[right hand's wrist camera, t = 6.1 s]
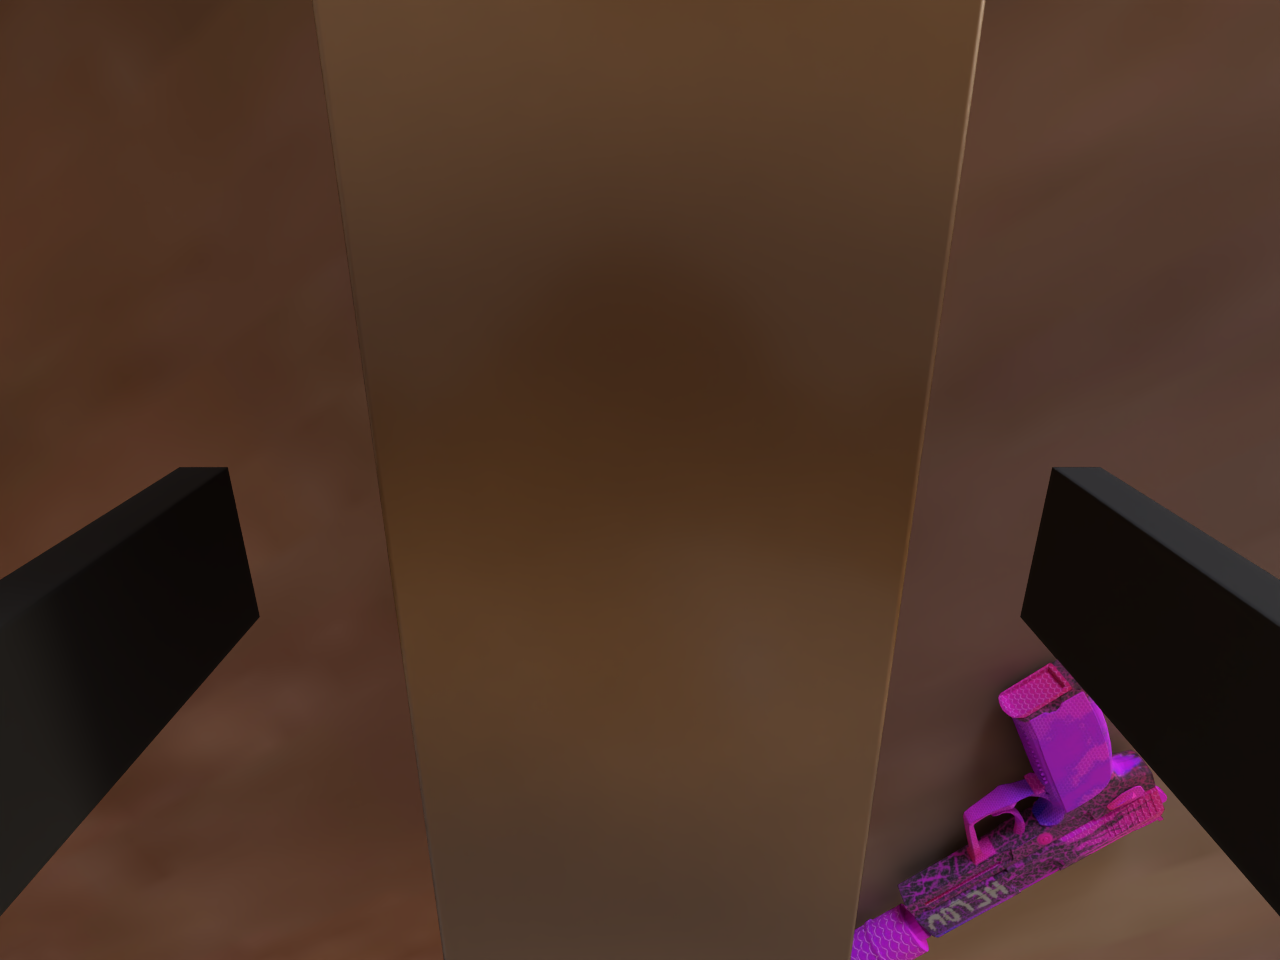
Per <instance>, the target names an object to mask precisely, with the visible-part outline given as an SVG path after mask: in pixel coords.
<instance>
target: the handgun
mask: <svg viewBox="0 0 1280 960" xmlns="http://www.w3.org/2000/svg"><path fill="white" fill-rule="evenodd" d="M998 699H999V703H1000V706H1001V708H1002V710H1003V711H1004V712H1005V713H1006V714H1008V715H1009V716H1010V717H1012V719H1013V721H1014V724H1015V726H1016V729H1017V731H1018V734H1019V736H1020V739H1021V741H1022V744H1023V746H1024V749H1025V751H1026V754H1027V756H1028V759H1029V762H1030V764H1031V766H1032V769H1033V771H1034V773H1028V774H1026V775H1025V776H1024V778H1025V779H1023V780H1020V781H1017V782H1014V783H1009V784H1002V785H999V786H997V787H996V788H995V789H994V790H993V791H991V792H990V793H989V794H987V795H986V796H985V797H983V798H982V799H980V800H979V801H978V802H976V803H975V804H974V805H972V806H971V807H970V808H969V809H967V810H966V811H965V812H964V814H963V819H964V825H965V830H966V835H967V840H968V845H966V846H965V847H963V848H961V849H959V850H958V851H956V852H954V853H952V854H951V855H949V856H947V857H945V858H944V859H942V860H940V861H938V862H937V863H935V864H933V865H931V866H930V867H928V868H926V869H925V870H923V871H921V872H919V873H918V874H916V875H914V876H912V877H911V878H909V879H907V880H905V881H904V882H902V883H900V884H898V888H899V891H900V893H901V896H902V899H903V901H904V904H905V905H903V904H902V903H901V904H900V905H898V906H896V907H894V908H893V909H891V910H889V911H887V912H886V913H884V914H882V915H880V916H878V917H877V918H875V919H873V920H872V919H870V920H868V921H866V922H865V924H864V925H863V926H861V927H859V928H857V929H855V931H854V939H853V946H852V953H851V960H913V959H915V958H917V957H918V956H920V955H922V954H924V953H926V952H927V951H929V948H928V943H927V940H926V939H927V938H929V937H930V936H931V935H932V936H934V937H940V936H942V935H943V934H945V933H947V932H949V931H951V930H953V929H954V928H956V927H958V926H960V925H962V924H964V923H965V922H967V921H969V920H971V919H973V918H975V917H976V916H978V915H980V914H982V913H984V912H986V911H987V910H989V909H991V908H993V907H995V906H997V905H998V904H1000V903H1002V902H1004V901H1006V900H1008V899H1009V898H1011V897H1013V896H1015V895H1017V894H1019V893H1020V892H1021V891H1022V890H1023V889H1025V888H1027V887H1029V886H1031V885H1032V884H1034V883H1036V882H1038V881H1040V880H1042V879H1043V878H1045V877H1047V876H1049V875H1051V874H1053V873H1054V872H1056V871H1058V870H1060V871H1061V870H1062V869H1064V868H1066V867H1068V866H1070V865H1072V864H1073V863H1075V862H1077V861H1079V860H1081V859H1083V858H1084V857H1086V856H1088V855H1090V854H1092V853H1094V852H1095V851H1097V850H1099V849H1101V848H1103V847H1105V846H1106V845H1108V844H1110V843H1112V842H1114V841H1116V840H1117V839H1119V838H1121V837H1123V836H1125V835H1127V834H1128V833H1130V832H1132V831H1135V830H1137V829H1139V828H1142V827H1144V826H1146V825H1148V824H1150V823H1152V822H1154V821H1156V820H1157V819H1158V820H1159V821H1161V820H1163V818H1162V816H1161V815H1162V813H1163V811H1164V806H1163V804H1162V803H1163V802H1165V801H1166V800H1167V796H1166V794H1165V793H1164V792H1163V791H1162V790H1161V789H1160V788H1159V787H1158V786H1155V782H1154V778H1153V775H1152V772H1151V771H1150V769H1149V768H1148V767H1147V765H1146V764H1145V762H1144V761H1143V760H1142V758H1141V757H1140V756H1139V755H1138V754H1137V753H1136V752H1134V751H1132V750H1128V751H1124V752H1120V753H1114V754H1112V750H1111V742H1110V737H1109V733H1108V729H1107V725H1106V722H1105V719H1104V716H1103V713H1102V710H1101V709H1100V708H1099V707H1098V706H1097V705H1096V704H1095V702H1094V701H1093V700H1092V699H1091V698H1090V697H1089V695H1088V694H1087V693H1086V692H1085V691H1084V690H1083V689H1082V687H1081V686H1080V685H1079V684H1078V683H1077V682H1076V680H1075V679H1074V678H1073V677H1072V676H1071V675H1070V674H1069V672H1068V671H1067V670H1066V669H1065V668H1064V667H1063V665H1062V664H1061V663H1060V662H1059V661H1058V660H1056V661H1054V662H1053V663H1049V664H1047V665H1046V666H1044V667H1043V668H1041V669H1039V670H1038V671H1036V672H1034V673H1033V674H1031V675H1030V676H1028V677H1026V678H1025V679H1023V680H1021V681H1020V682H1018V683H1016V684H1015V685H1013V686H1012V687H1010V688H1008V689H1007V690H1005V691H1003V692H1002V693H1000V695H999V697H998ZM1028 796H1036V797H1039V798H1038V800H1037V801H1035V802H1034V804H1033V805H1032V806H1031V807H1029V808H1027V809H1025V810H1024V811H1022V812H1020V813H1019V811H1018V810H1017V809H1016V808H1014V806H1015V805H1016V803H1017V802H1018V801H1020V800H1022V799H1024V798H1026V797H1028ZM1002 813H1011V814H1013V815H1014V816H1013V817H1011V818H1010V819H1008V820H1006V821H1004V822H1003V823H1001V824H999V825H998V828H996V829H994V830H992V831H991V832H989V833H987V834H985V835H984V836H982V837H980V838H978V839H977V836H976V833H975V829H974V824H975V823H977V822H978V821H979V820H981V819H982V818H984V817H986V816H988V815H992V816H998V815H1000V814H1002Z"/></svg>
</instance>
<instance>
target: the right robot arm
mask: <svg viewBox="0 0 1280 960" xmlns="http://www.w3.org/2000/svg"><path fill="white" fill-rule="evenodd" d="M259 617H260V616H259V611H258V607H257V602H256V597H255V593H254V588H253V583H252V579H251V574H250V569H249V565H248V560H247V555H246V551H245V546H244V541H243V537H242V532H241V527H240V523H239V518H238V513H237V509H236V504H235V499H234V495H233V490H232V485H231V481H230V476H229V471H228V467H179V468H178V469H176V470H175V471H173V472H171V473H170V474H168V475H167V476H165V477H163V478H162V479H160V480H159V481H157V482H155V483H154V484H152V485H151V486H149V487H147V488H146V489H144V490H143V491H141V492H140V493H138V494H136V495H135V496H133V497H132V498H130V499H128V500H127V501H125V502H124V503H122V504H120V505H119V506H117V507H116V508H114V509H112V510H111V511H109V512H108V513H106V514H105V515H103V516H101V517H100V518H98V519H97V520H95V521H93V522H92V523H90V524H89V525H87V526H85V527H84V528H82V529H81V530H79V531H77V532H76V533H74V534H73V535H71V536H69V537H68V538H66V539H65V540H63V541H62V542H60V543H58V544H57V545H55V546H54V547H52V548H50V549H49V550H47V551H46V552H44V553H42V554H41V555H39V556H38V557H36V558H34V559H33V560H31V561H30V562H28V563H27V564H25V565H23V566H22V567H20V568H19V569H17V570H15V571H14V572H12V573H11V574H9V575H7V576H6V577H4V578H3V579H1V580H0V916H1V915H2V914H3V912H4V911H5V910H6V909H7V908H8V907H9V905H10V904H11V903H12V902H13V901H14V900H15V899H16V897H17V896H18V895H19V894H20V893H21V892H22V890H23V889H24V888H25V887H26V886H27V885H28V884H29V882H30V881H31V880H32V879H33V878H34V877H35V875H36V874H37V873H38V872H39V871H40V870H41V869H42V867H43V866H44V865H45V864H46V863H47V862H48V860H49V859H50V858H51V857H52V856H53V855H54V854H55V852H56V851H57V850H58V849H59V848H60V847H61V845H62V844H63V843H64V842H65V841H66V840H67V839H68V837H69V836H70V835H71V834H72V833H73V832H74V830H75V829H76V828H77V827H78V826H79V825H80V824H81V822H82V821H83V820H84V819H85V818H86V817H87V815H88V814H89V813H90V812H91V811H92V810H93V809H94V807H95V806H96V805H97V804H98V803H99V802H100V800H101V799H102V798H103V797H104V796H105V795H106V794H107V792H108V791H109V790H110V789H111V788H112V787H113V785H114V784H115V783H116V782H117V781H118V780H119V779H120V777H121V776H122V775H123V774H124V773H125V772H126V770H127V769H128V768H129V767H130V766H131V765H132V764H133V762H134V761H135V760H136V759H137V758H138V757H139V755H140V754H141V753H142V752H143V751H144V750H145V749H146V747H147V746H148V745H149V744H150V743H151V742H152V740H153V739H154V738H155V737H156V736H157V735H158V734H159V732H160V731H161V730H162V729H163V728H164V727H165V725H166V724H167V723H168V722H169V721H170V720H171V719H172V717H173V716H174V715H175V714H176V713H177V712H178V710H179V709H180V708H181V707H182V706H183V705H184V704H185V702H186V701H187V700H188V699H189V698H190V697H191V695H192V694H193V693H194V692H195V691H196V690H197V689H198V687H199V686H200V685H201V684H202V683H203V682H204V680H205V679H206V678H207V677H208V676H209V675H210V674H211V672H212V671H213V670H214V669H215V668H216V667H217V665H218V664H219V663H220V662H221V661H222V660H223V659H224V657H225V656H226V655H227V654H228V653H229V652H230V651H231V649H232V648H233V647H234V646H235V645H236V644H237V642H238V641H239V640H240V639H241V638H242V637H243V636H244V634H245V633H246V632H247V631H248V630H249V629H250V627H251V626H252V625H253V624H254V623H255V622H256V621H257V619H258V618H259ZM1020 617H1021V618H1022V619H1023V621H1024V622H1025V623H1026V624H1027V625H1028V626H1029V627H1030V629H1031V630H1032V631H1033V632H1034V633H1035V634H1036V636H1037V637H1038V638H1039V639H1040V640H1041V641H1042V642H1043V644H1044V645H1045V646H1046V647H1047V648H1048V649H1049V651H1050V652H1051V653H1052V654H1053V655H1054V656H1055V657H1056V659H1057V660H1058V661H1059V662H1060V663H1061V664H1062V665H1063V667H1064V668H1065V669H1066V670H1067V671H1068V672H1069V674H1070V675H1071V676H1072V677H1073V678H1074V679H1075V680H1076V682H1077V683H1078V684H1079V685H1080V686H1081V687H1082V689H1083V690H1084V691H1085V692H1086V693H1087V694H1088V695H1089V697H1090V698H1091V699H1092V700H1093V701H1094V702H1095V704H1096V705H1097V706H1098V707H1099V708H1100V709H1101V710H1102V712H1103V713H1104V714H1105V715H1106V716H1107V717H1108V719H1109V720H1110V721H1111V722H1112V723H1113V724H1114V725H1115V727H1116V728H1117V729H1118V730H1119V731H1120V732H1121V734H1122V735H1123V736H1124V737H1125V738H1126V739H1127V740H1128V742H1129V743H1130V744H1131V745H1132V746H1133V747H1134V749H1135V750H1136V751H1137V752H1138V753H1139V754H1140V755H1141V757H1142V758H1143V759H1144V760H1145V761H1146V762H1147V764H1148V765H1149V766H1150V767H1151V768H1152V769H1153V770H1154V772H1155V773H1156V774H1157V775H1158V776H1159V777H1160V779H1161V780H1162V781H1163V782H1164V783H1165V784H1166V785H1167V787H1168V788H1169V789H1170V790H1171V791H1172V792H1173V794H1174V795H1175V796H1176V797H1177V798H1178V799H1179V800H1180V802H1181V803H1182V804H1183V805H1184V806H1185V807H1186V809H1187V810H1188V811H1189V812H1190V813H1191V814H1192V815H1193V817H1194V818H1195V819H1196V820H1197V821H1198V822H1199V824H1200V825H1201V826H1202V827H1203V828H1204V829H1205V830H1206V832H1207V833H1208V834H1209V835H1210V836H1211V837H1212V839H1213V840H1214V841H1215V842H1216V843H1217V844H1218V845H1219V847H1220V848H1221V849H1222V850H1223V851H1224V852H1225V854H1226V855H1227V856H1228V857H1229V858H1230V859H1231V860H1232V862H1233V863H1234V864H1235V865H1236V866H1237V867H1238V869H1239V870H1240V871H1241V872H1242V873H1243V874H1244V875H1245V877H1246V878H1247V879H1248V880H1249V881H1250V882H1251V884H1252V885H1253V886H1254V887H1255V888H1256V889H1257V890H1258V892H1259V893H1260V894H1261V895H1262V896H1263V897H1264V899H1265V900H1266V901H1267V902H1268V903H1269V904H1270V905H1271V907H1272V908H1273V909H1274V910H1275V911H1276V912H1277V914H1278V915H1279V916H1280V580H1279V579H1277V578H1276V577H1274V576H1273V575H1271V574H1269V573H1268V572H1266V571H1265V570H1263V569H1261V568H1260V567H1258V566H1257V565H1255V564H1253V563H1252V562H1250V561H1249V560H1247V559H1246V558H1244V557H1242V556H1241V555H1239V554H1238V553H1236V552H1234V551H1233V550H1231V549H1230V548H1228V547H1226V546H1225V545H1223V544H1222V543H1220V542H1218V541H1217V540H1215V539H1214V538H1212V537H1211V536H1209V535H1207V534H1206V533H1204V532H1203V531H1201V530H1199V529H1198V528H1196V527H1195V526H1193V525H1191V524H1190V523H1188V522H1187V521H1185V520H1183V519H1182V518H1180V517H1179V516H1177V515H1175V514H1174V513H1172V512H1171V511H1169V510H1168V509H1166V508H1164V507H1163V506H1161V505H1160V504H1158V503H1156V502H1155V501H1153V500H1152V499H1150V498H1148V497H1147V496H1145V495H1144V494H1142V493H1140V492H1139V491H1137V490H1136V489H1134V488H1133V487H1131V486H1129V485H1128V484H1126V483H1125V482H1123V481H1121V480H1120V479H1118V478H1117V477H1115V476H1113V475H1112V474H1110V473H1109V472H1107V471H1105V470H1104V469H1102V468H1101V467H1052V471H1051V476H1050V481H1049V485H1048V490H1047V495H1046V499H1045V504H1044V509H1043V513H1042V518H1041V523H1040V527H1039V532H1038V537H1037V541H1036V546H1035V551H1034V555H1033V560H1032V565H1031V569H1030V574H1029V579H1028V583H1027V588H1026V593H1025V597H1024V602H1023V607H1022V611H1021V616H1020Z"/></svg>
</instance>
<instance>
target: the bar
mask: <svg viewBox="0 0 1280 960" xmlns="http://www.w3.org/2000/svg"><path fill="white" fill-rule="evenodd" d="M985 1H986V0H312V5H313V12H314V19H315V27H316V34H317V41H318V48H319V56H320V63H321V70H322V78H323V85H324V92H325V99H326V107H327V114H328V121H329V128H330V136H331V143H332V150H333V158H334V165H335V172H336V179H337V187H338V194H339V201H340V208H341V216H342V223H343V230H344V237H345V245H346V252H347V259H348V267H349V274H350V281H351V288H352V296H353V303H354V310H355V317H356V325H357V332H358V339H359V347H360V354H361V361H362V368H363V376H364V383H365V390H366V397H367V405H368V412H369V419H370V427H371V434H372V441H373V448H374V456H375V463H376V470H377V477H378V485H379V492H380V499H381V507H382V514H383V521H384V528H385V536H386V543H387V550H388V557H389V565H390V572H391V579H392V587H393V594H394V601H395V608H396V616H397V623H398V630H399V637H400V645H401V652H402V659H403V666H404V674H405V681H406V688H407V696H408V703H409V710H410V717H411V725H412V732H413V739H414V746H415V754H416V761H417V768H418V776H419V783H420V790H421V797H422V805H423V812H424V819H425V826H426V834H427V841H428V848H429V856H430V863H431V870H432V877H433V885H434V892H435V899H436V906H437V914H438V921H439V928H440V936H441V943H442V950H443V957H444V960H851V953H852V946H853V939H854V931H855V924H856V917H857V910H858V903H859V896H860V889H861V882H862V875H863V867H864V860H865V853H866V846H867V839H868V832H869V825H870V818H871V811H872V804H873V796H874V789H875V782H876V775H877V768H878V761H879V754H880V747H881V740H882V733H883V725H884V718H885V711H886V704H887V697H888V690H889V683H890V676H891V669H892V661H893V654H894V647H895V640H896V633H897V626H898V619H899V612H900V605H901V598H902V590H903V583H904V576H905V569H906V562H907V555H908V548H909V541H910V534H911V527H912V519H913V512H914V505H915V498H916V491H917V484H918V477H919V470H920V463H921V456H922V448H923V441H924V434H925V427H926V420H927V413H928V406H929V399H930V392H931V384H932V377H933V370H934V363H935V356H936V349H937V342H938V335H939V328H940V321H941V313H942V306H943V299H944V292H945V285H946V278H947V271H948V264H949V257H950V250H951V242H952V235H953V228H954V221H955V214H956V207H957V200H958V193H959V186H960V178H961V171H962V164H963V157H964V150H965V143H966V136H967V129H968V122H969V115H970V107H971V100H972V93H973V86H974V79H975V72H976V65H977V58H978V51H979V44H980V36H981V29H982V22H983V15H984V8H985Z"/></svg>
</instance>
